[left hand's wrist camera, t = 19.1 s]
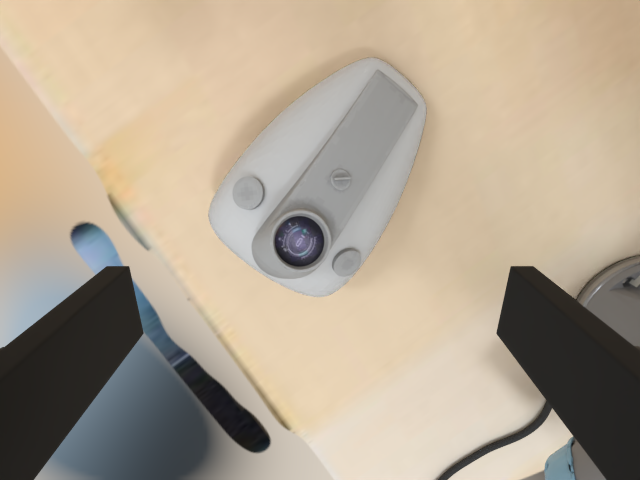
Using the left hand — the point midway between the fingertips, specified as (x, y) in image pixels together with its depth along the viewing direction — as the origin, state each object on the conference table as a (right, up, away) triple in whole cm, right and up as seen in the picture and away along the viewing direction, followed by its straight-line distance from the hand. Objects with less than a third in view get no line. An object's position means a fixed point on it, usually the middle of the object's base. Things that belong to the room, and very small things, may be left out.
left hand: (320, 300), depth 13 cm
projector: (0, +10, +27) cm, 29 cm away
